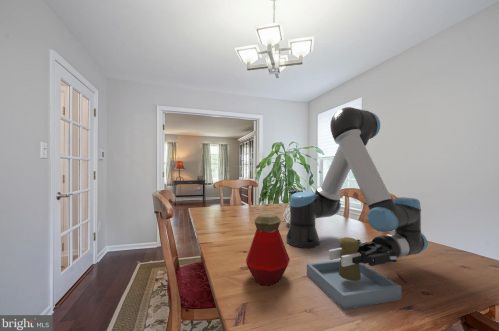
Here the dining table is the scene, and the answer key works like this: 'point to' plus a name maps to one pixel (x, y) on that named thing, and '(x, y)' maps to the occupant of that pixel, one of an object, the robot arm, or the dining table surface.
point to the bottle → (267, 251)
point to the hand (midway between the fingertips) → (335, 258)
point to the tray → (353, 285)
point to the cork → (348, 248)
